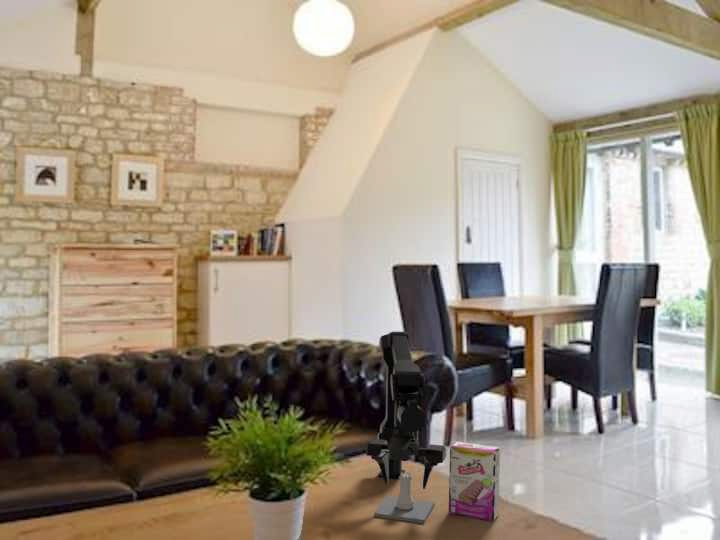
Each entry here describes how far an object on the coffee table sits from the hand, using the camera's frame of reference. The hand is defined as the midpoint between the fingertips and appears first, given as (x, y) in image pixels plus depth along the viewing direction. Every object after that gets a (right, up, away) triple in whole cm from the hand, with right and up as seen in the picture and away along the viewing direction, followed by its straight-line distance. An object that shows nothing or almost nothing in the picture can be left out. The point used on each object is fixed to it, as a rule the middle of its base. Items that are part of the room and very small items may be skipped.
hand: (405, 486), depth 151 cm
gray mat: (0, -6, 0) cm, 6 cm away
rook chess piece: (0, -5, 0) cm, 5 cm away
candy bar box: (+16, -6, -2) cm, 17 cm away
